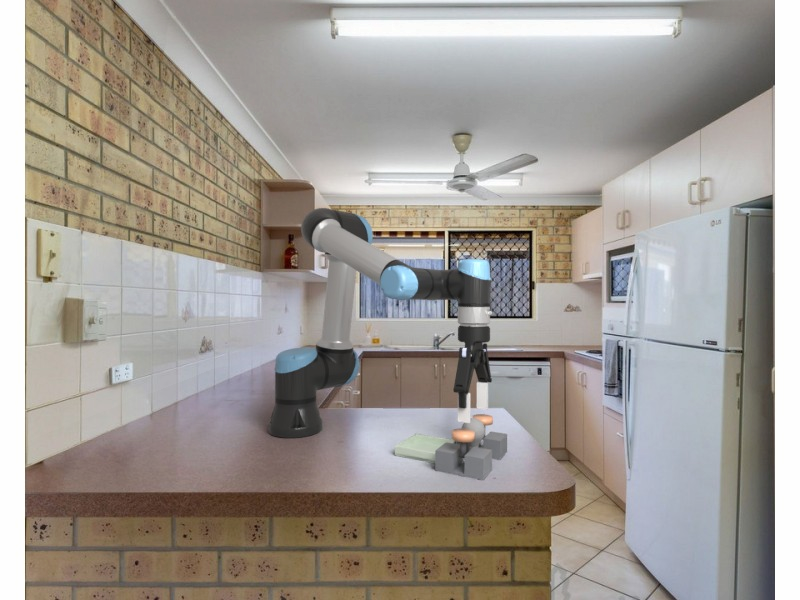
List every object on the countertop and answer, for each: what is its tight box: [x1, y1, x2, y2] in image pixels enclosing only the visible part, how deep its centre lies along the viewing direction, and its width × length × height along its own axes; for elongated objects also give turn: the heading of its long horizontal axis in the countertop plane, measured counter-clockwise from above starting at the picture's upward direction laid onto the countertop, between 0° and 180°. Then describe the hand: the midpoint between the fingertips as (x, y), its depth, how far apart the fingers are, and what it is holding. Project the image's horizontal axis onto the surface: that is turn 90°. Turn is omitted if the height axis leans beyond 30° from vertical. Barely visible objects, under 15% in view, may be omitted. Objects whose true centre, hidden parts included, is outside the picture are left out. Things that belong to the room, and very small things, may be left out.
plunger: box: [451, 428, 475, 459], centre depth 98 cm, size 5×5×6 cm
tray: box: [394, 433, 457, 464], centre depth 110 cm, size 12×12×2 cm
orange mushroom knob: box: [472, 413, 494, 441], centre depth 110 cm, size 5×5×6 cm
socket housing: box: [434, 431, 508, 481], centre depth 104 cm, size 11×20×4 cm, turn 152°
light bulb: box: [461, 417, 486, 451], centre depth 104 cm, size 6×6×10 cm
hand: (473, 415), depth 104 cm, fingers open, 13 cm apart
